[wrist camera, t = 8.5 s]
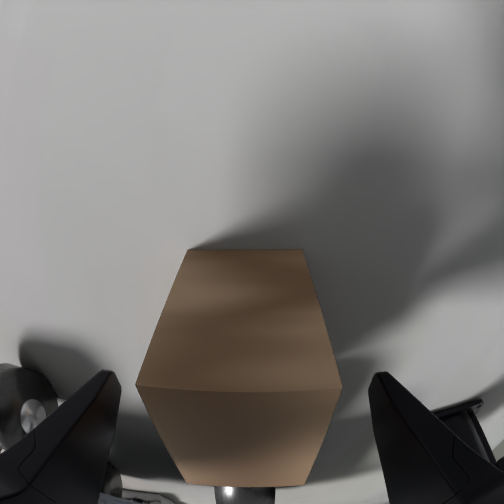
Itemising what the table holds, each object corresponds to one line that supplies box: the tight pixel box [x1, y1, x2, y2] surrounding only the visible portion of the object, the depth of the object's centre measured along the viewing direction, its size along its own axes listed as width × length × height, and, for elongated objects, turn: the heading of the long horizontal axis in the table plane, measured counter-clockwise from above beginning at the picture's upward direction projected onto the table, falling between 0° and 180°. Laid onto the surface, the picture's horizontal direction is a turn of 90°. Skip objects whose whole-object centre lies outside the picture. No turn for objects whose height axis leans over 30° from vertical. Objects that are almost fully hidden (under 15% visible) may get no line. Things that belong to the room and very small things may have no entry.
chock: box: [135, 249, 343, 487], centre depth 9 cm, size 4×6×6 cm, turn 0°
